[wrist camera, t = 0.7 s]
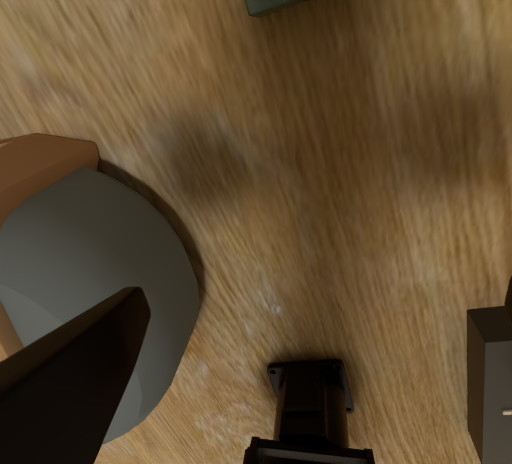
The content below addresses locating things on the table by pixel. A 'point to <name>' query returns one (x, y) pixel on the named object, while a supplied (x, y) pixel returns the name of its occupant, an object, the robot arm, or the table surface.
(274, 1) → the housing
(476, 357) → the panel
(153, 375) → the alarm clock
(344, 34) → the table surface
